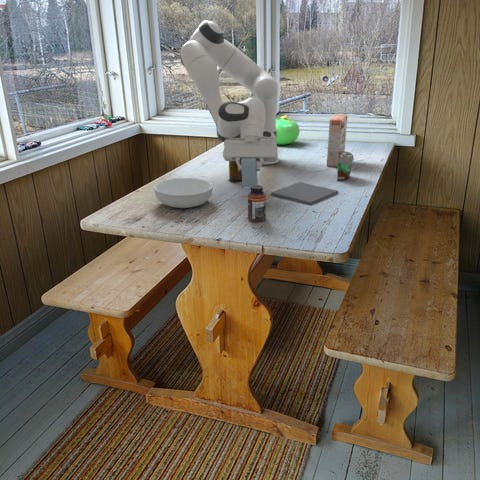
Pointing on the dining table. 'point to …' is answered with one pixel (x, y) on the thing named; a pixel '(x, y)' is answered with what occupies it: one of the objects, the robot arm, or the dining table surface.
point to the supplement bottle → (256, 204)
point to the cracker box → (336, 139)
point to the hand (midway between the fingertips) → (249, 170)
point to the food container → (344, 165)
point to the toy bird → (286, 130)
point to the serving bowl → (183, 192)
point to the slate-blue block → (249, 172)
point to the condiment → (234, 173)
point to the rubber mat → (304, 193)
